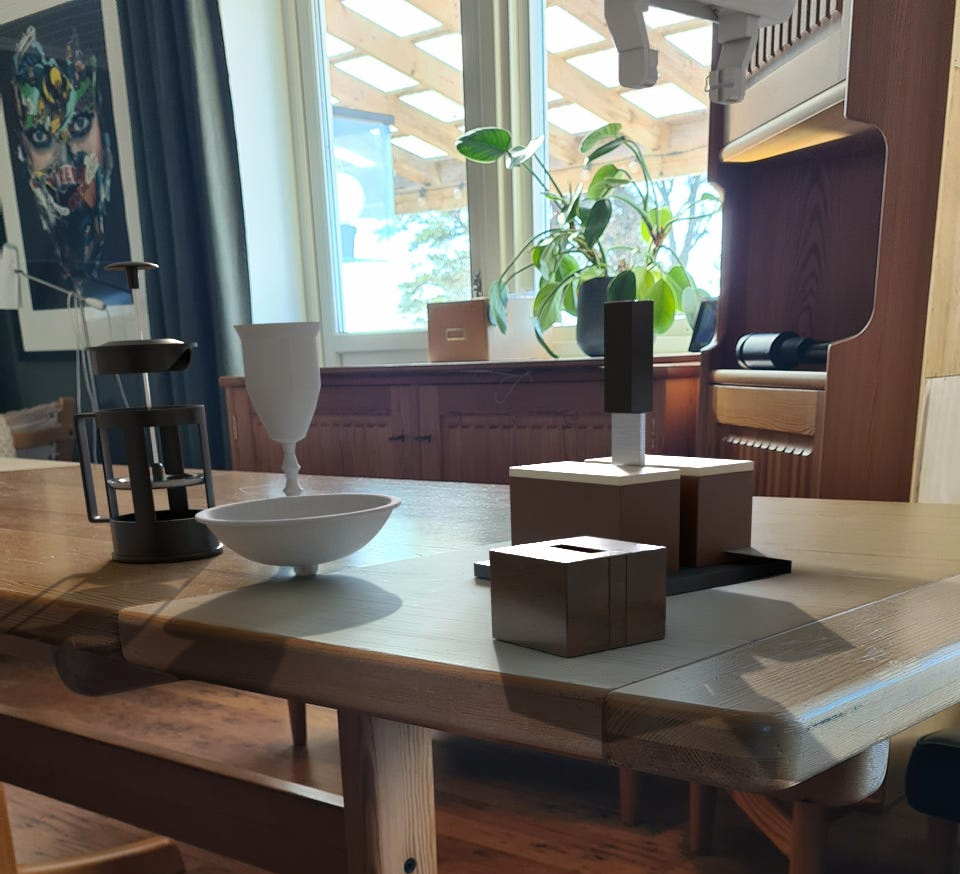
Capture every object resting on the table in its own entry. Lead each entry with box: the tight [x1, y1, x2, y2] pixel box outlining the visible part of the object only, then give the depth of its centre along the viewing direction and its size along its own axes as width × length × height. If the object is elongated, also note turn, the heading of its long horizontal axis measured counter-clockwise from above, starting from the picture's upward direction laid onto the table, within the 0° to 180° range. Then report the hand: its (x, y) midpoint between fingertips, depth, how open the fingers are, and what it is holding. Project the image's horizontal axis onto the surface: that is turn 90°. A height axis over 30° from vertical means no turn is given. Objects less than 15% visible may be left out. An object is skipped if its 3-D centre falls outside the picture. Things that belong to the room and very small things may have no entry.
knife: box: [603, 299, 655, 467], centre depth 88 cm, size 2×3×17 cm, turn 35°
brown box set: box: [473, 454, 793, 596], centre depth 90 cm, size 16×16×8 cm
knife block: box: [488, 536, 667, 658], centre depth 72 cm, size 7×7×5 cm
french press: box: [72, 261, 224, 564], centre depth 106 cm, size 12×9×23 cm
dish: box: [195, 492, 402, 576], centre depth 97 cm, size 18×14×5 cm
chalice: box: [232, 321, 323, 497], centre depth 108 cm, size 7×7×18 cm
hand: (684, 95), depth 78 cm, fingers open, 8 cm apart
